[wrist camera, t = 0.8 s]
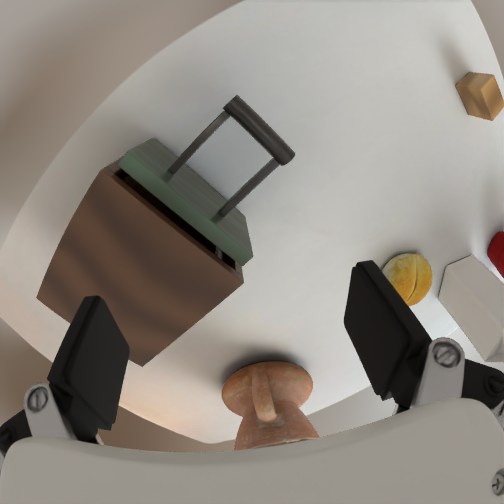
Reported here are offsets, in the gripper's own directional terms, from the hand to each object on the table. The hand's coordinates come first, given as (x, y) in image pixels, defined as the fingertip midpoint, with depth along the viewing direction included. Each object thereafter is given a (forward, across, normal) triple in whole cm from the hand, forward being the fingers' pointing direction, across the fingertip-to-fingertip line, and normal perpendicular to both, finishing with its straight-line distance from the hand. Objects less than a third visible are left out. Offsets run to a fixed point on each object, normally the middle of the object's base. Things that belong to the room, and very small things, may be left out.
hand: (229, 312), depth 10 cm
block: (+18, -31, -11) cm, 37 cm away
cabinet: (+18, +9, +5) cm, 20 cm away
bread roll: (+18, -22, +15) cm, 32 cm away
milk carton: (+18, -35, +18) cm, 43 cm away
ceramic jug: (+18, -2, +32) cm, 37 cm away
